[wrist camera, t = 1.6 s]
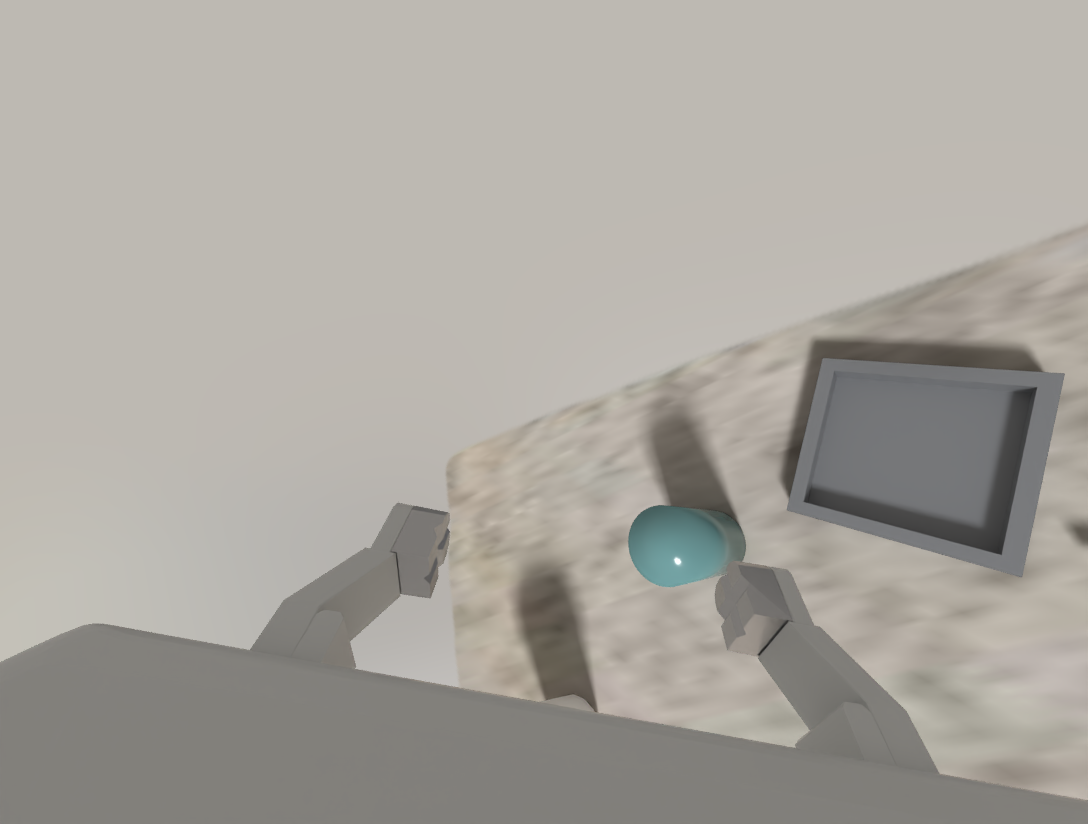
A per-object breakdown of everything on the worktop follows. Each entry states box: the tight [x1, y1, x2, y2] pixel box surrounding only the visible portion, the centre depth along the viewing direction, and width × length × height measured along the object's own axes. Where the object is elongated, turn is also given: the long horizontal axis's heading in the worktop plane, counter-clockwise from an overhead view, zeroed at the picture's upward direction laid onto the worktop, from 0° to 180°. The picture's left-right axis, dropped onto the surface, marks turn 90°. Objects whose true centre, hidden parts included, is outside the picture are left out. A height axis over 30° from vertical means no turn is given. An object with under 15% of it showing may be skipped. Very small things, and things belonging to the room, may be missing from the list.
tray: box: [787, 358, 1065, 577], centre depth 32 cm, size 13×13×3 cm
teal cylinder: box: [628, 505, 746, 587], centre depth 37 cm, size 6×6×11 cm
